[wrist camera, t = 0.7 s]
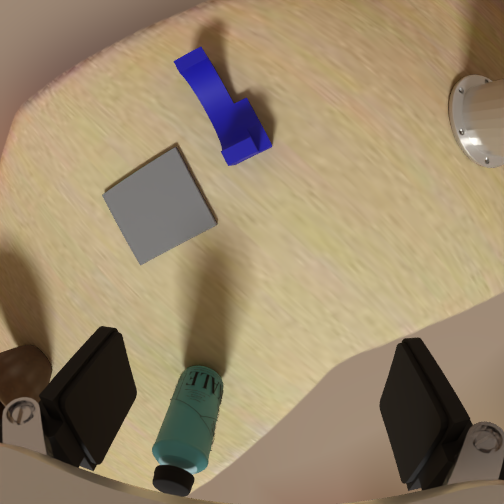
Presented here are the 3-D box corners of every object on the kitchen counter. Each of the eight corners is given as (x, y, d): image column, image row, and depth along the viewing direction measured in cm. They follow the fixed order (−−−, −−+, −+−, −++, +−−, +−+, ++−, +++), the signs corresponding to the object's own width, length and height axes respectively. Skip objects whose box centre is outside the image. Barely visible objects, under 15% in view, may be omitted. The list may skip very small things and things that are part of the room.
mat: (176, 147, 33) (175, 147, 32) (217, 224, 35) (216, 225, 35) (104, 194, 35) (102, 194, 34) (142, 263, 37) (140, 265, 36)
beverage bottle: (187, 390, 43) (151, 499, 24) (177, 356, 41) (129, 469, 22) (229, 391, 42) (209, 507, 23) (222, 356, 40) (194, 479, 21)
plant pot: (38, 319, 41) (-20, 370, 26) (82, 389, 45) (41, 449, 30) (0, 332, 44) (-48, 374, 28) (39, 392, 47) (0, 440, 32)
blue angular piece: (272, 147, 32) (272, 144, 27) (235, 164, 33) (228, 165, 27) (223, 57, 30) (215, 39, 24) (188, 76, 30) (173, 61, 25)
